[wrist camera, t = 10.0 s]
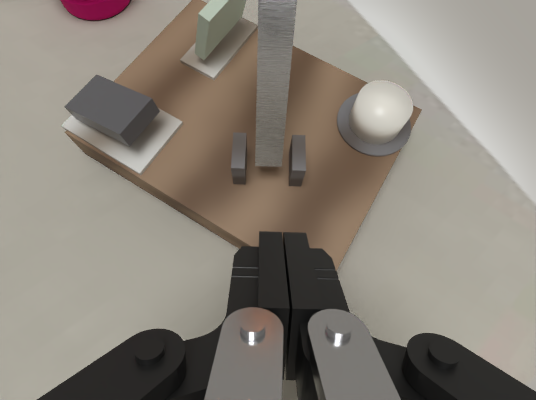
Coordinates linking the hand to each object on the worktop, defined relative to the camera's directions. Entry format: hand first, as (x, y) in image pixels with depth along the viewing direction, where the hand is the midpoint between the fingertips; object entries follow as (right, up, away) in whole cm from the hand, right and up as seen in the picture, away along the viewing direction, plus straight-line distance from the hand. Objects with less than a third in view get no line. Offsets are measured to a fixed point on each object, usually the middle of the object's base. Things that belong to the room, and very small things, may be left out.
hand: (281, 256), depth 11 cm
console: (-2, +6, +16) cm, 17 cm away
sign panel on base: (-4, +14, +14) cm, 20 cm away
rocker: (-10, +7, +11) cm, 17 cm away
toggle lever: (0, +4, +10) cm, 11 cm away
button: (+7, +7, +13) cm, 17 cm away
